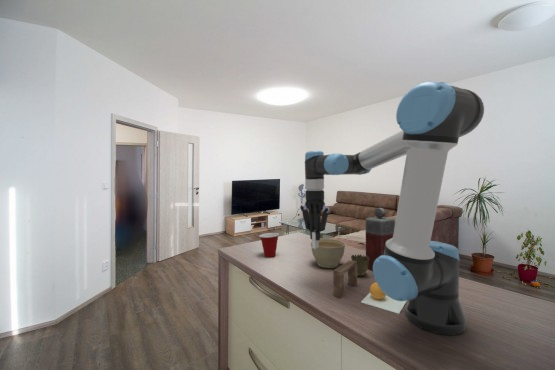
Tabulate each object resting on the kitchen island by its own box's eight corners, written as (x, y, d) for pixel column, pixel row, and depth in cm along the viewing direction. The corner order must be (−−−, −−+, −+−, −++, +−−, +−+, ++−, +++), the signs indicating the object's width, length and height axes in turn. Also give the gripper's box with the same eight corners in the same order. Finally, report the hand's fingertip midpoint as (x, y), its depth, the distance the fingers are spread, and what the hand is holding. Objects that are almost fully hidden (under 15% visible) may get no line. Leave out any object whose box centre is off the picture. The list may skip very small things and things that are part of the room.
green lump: (370, 279, 105) (370, 260, 105) (352, 277, 107) (352, 259, 107) (368, 272, 113) (367, 254, 112) (350, 271, 114) (350, 253, 114)
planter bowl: (344, 272, 113) (343, 248, 112) (308, 269, 118) (307, 245, 117) (346, 261, 128) (346, 239, 127) (314, 258, 133) (314, 237, 133)
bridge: (357, 284, 101) (357, 261, 100) (341, 298, 89) (341, 272, 89) (350, 282, 103) (349, 259, 102) (333, 296, 91) (333, 270, 91)
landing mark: (408, 299, 88) (408, 298, 88) (399, 314, 79) (399, 313, 79) (372, 289, 96) (372, 289, 96) (360, 302, 86) (360, 301, 86)
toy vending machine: (398, 269, 116) (398, 207, 115) (382, 274, 110) (382, 209, 109) (381, 263, 123) (380, 206, 122) (365, 268, 118) (365, 207, 117)
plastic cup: (267, 251, 146) (267, 231, 145) (283, 255, 139) (283, 233, 139) (255, 256, 137) (255, 234, 137) (271, 260, 131) (271, 237, 130)
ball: (370, 280, 93) (374, 295, 92) (365, 285, 88) (369, 301, 88) (386, 280, 90) (390, 296, 89) (381, 285, 85) (386, 302, 85)
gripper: (333, 189, 102) (334, 248, 102) (306, 189, 110) (306, 243, 111) (324, 190, 96) (325, 252, 97) (296, 190, 104) (297, 247, 105)
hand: (315, 247), depth 104 cm, fingers closed
